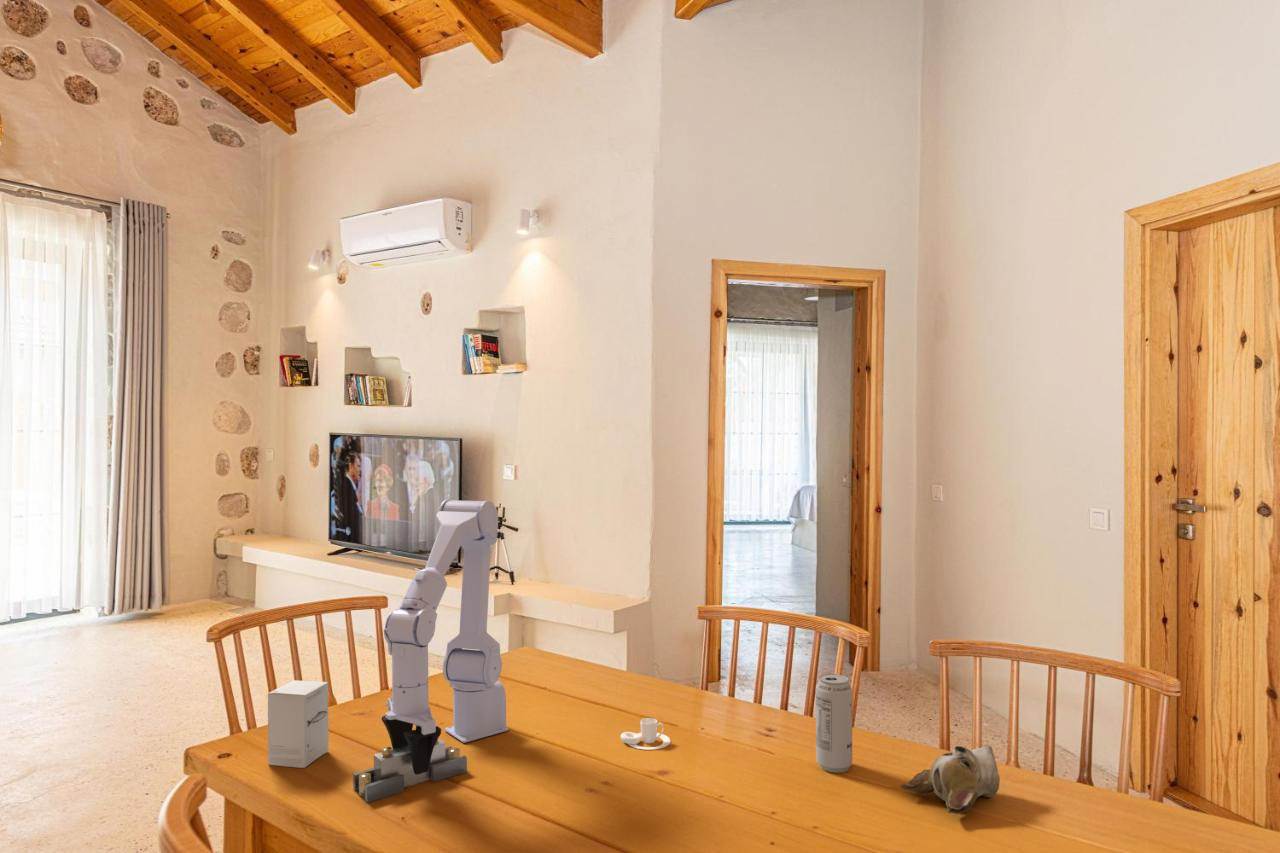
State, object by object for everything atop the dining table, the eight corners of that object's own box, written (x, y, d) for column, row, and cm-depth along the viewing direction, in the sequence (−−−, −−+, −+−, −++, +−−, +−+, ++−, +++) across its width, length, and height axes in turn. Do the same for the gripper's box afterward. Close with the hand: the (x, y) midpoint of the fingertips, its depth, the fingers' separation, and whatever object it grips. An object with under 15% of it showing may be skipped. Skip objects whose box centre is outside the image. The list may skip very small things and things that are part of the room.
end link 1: (389, 778, 136) (389, 760, 135) (404, 791, 131) (404, 772, 131) (352, 789, 132) (352, 770, 132) (366, 803, 127) (366, 783, 127)
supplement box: (305, 769, 139) (304, 695, 139) (266, 765, 141) (265, 692, 141) (330, 751, 147) (329, 681, 146) (293, 748, 148) (292, 678, 148)
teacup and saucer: (616, 747, 149) (616, 725, 148) (633, 731, 156) (632, 710, 156) (661, 755, 145) (661, 732, 145) (676, 738, 153) (676, 716, 152)
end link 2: (451, 760, 143) (451, 743, 142) (467, 772, 138) (467, 754, 138) (418, 770, 139) (417, 752, 139) (433, 782, 134) (433, 764, 134)
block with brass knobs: (437, 769, 139) (437, 731, 139) (445, 775, 137) (445, 736, 137) (374, 788, 132) (373, 748, 132) (381, 795, 130) (380, 754, 130)
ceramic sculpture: (1019, 747, 125) (950, 773, 118) (1022, 802, 126) (953, 832, 119) (962, 724, 135) (895, 747, 128) (965, 776, 135) (898, 802, 128)
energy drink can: (857, 773, 136) (857, 683, 136) (821, 774, 136) (821, 684, 136) (845, 758, 142) (845, 672, 142) (811, 759, 142) (811, 673, 142)
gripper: (369, 676, 138) (370, 756, 138) (405, 699, 126) (406, 787, 127) (409, 668, 142) (410, 745, 142) (447, 689, 131) (448, 774, 131)
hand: (411, 764), depth 135 cm, fingers open, 7 cm apart
